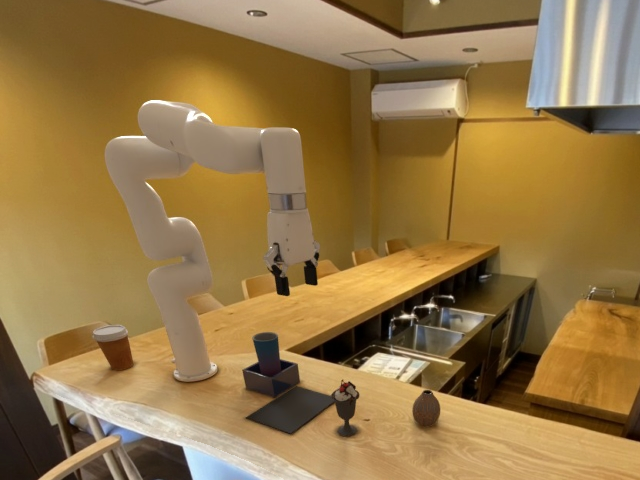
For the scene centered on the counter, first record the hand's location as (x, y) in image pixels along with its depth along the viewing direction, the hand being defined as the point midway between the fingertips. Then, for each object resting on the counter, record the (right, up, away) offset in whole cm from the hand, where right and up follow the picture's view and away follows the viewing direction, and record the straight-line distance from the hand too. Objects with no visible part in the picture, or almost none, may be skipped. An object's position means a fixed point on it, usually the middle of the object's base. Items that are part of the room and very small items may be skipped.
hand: (298, 289), depth 94 cm
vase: (+30, -30, +12) cm, 44 cm away
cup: (-13, -18, +29) cm, 37 cm away
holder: (-13, -18, +29) cm, 37 cm away
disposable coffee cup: (-65, -11, +41) cm, 77 cm away
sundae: (+10, -32, +9) cm, 35 cm away
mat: (-5, -26, +18) cm, 32 cm away
